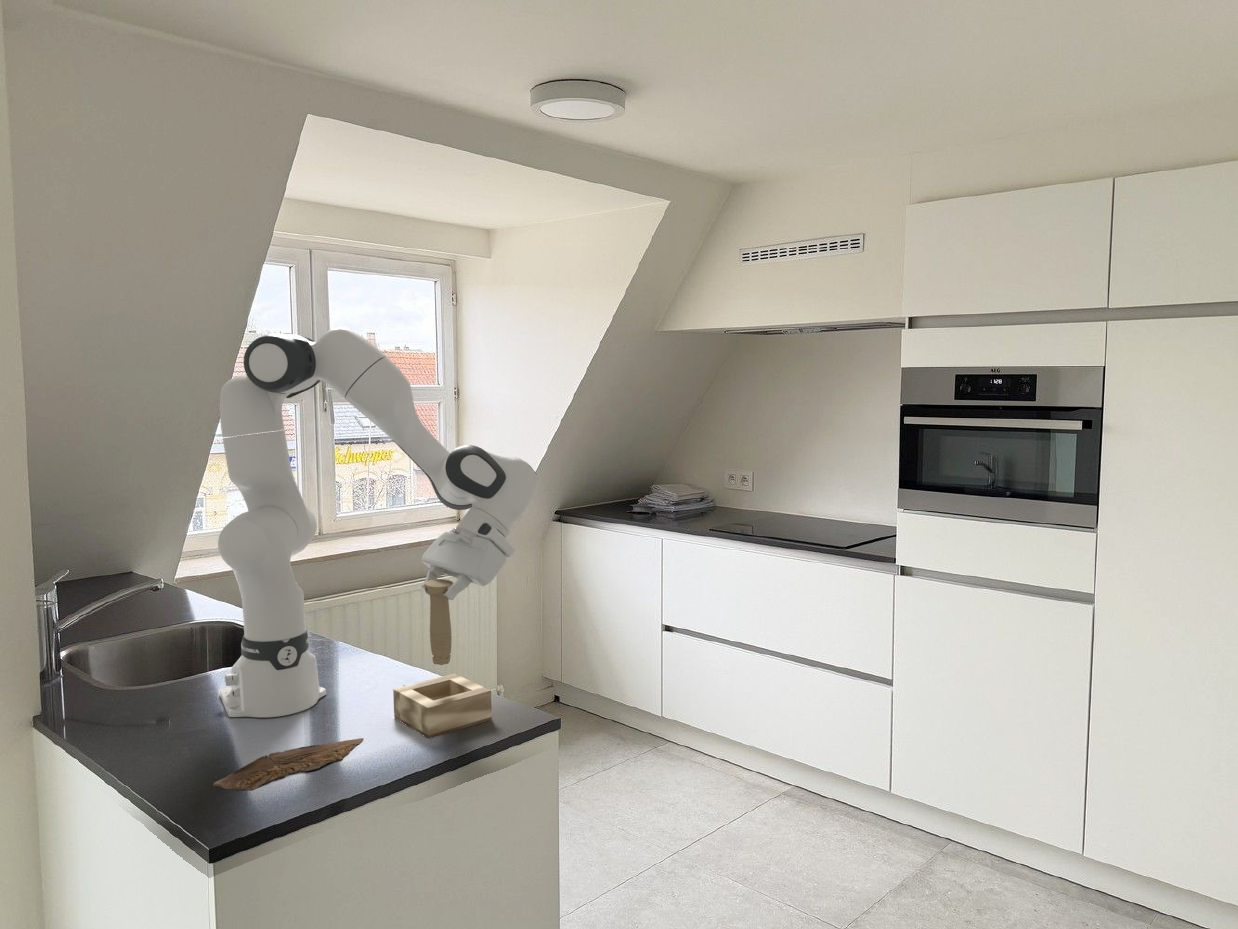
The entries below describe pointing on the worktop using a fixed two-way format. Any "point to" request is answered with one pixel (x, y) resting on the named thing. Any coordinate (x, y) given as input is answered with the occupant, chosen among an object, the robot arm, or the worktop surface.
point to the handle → (439, 620)
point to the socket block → (442, 705)
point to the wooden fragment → (286, 764)
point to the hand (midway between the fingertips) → (435, 594)
